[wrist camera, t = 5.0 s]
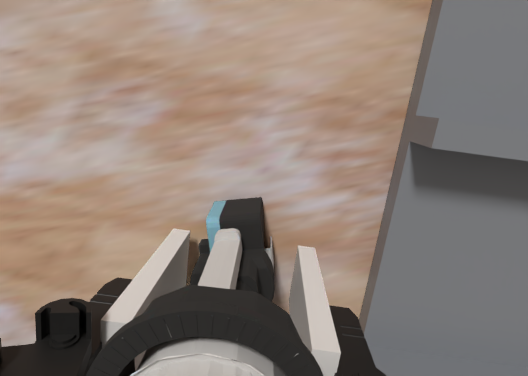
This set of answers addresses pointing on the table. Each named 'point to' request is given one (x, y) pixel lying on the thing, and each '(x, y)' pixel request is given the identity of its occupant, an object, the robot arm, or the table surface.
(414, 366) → the gray divided compartment tray
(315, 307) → the robot arm
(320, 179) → the table surface
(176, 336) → the push button
